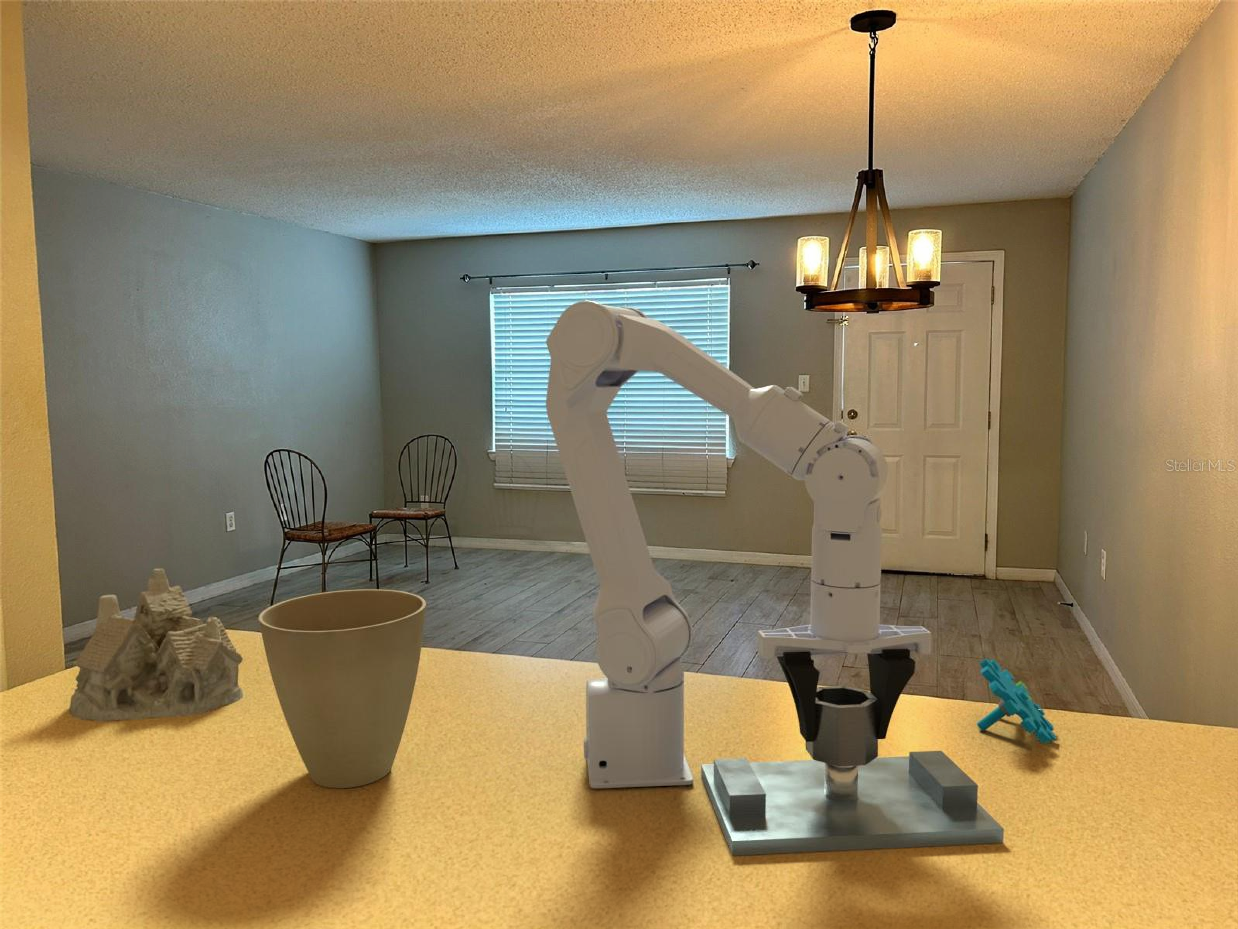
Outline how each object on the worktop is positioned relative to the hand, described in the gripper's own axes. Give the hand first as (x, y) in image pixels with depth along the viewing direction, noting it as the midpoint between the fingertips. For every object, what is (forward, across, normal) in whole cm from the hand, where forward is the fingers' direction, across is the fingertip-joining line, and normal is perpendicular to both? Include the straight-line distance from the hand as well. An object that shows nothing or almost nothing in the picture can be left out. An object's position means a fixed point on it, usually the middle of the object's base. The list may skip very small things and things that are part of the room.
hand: (842, 736), depth 78 cm
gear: (+7, +24, +14) cm, 28 cm away
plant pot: (+7, -44, +11) cm, 46 cm away
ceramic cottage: (+7, -70, +32) cm, 77 cm away
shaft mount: (+6, 0, 0) cm, 6 cm away
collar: (+2, 0, 0) cm, 2 cm away
